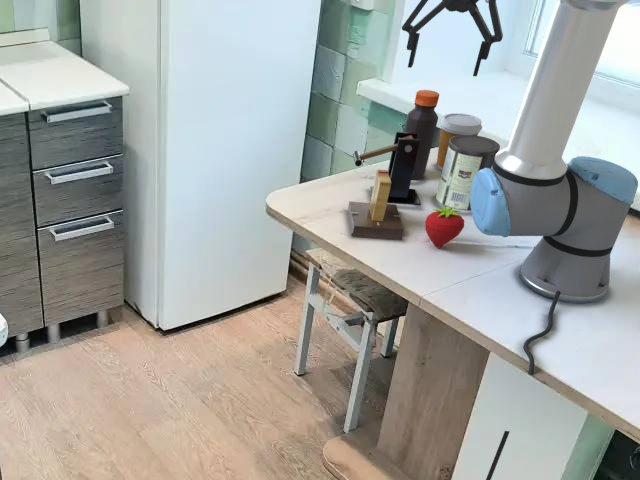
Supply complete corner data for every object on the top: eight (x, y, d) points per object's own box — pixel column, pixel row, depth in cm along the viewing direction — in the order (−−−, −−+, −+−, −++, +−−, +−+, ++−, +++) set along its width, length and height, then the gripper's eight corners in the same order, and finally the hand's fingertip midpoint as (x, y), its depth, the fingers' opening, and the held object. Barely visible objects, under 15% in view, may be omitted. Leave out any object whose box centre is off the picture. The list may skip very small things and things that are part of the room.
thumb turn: (382, 221, 166) (391, 181, 160) (372, 220, 166) (380, 180, 161) (379, 209, 170) (388, 169, 165) (369, 208, 171) (377, 169, 165)
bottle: (405, 170, 194) (424, 86, 182) (428, 179, 190) (450, 94, 178) (387, 176, 191) (406, 92, 178) (411, 186, 186) (431, 100, 174)
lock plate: (401, 240, 165) (404, 228, 163) (351, 237, 165) (353, 225, 164) (394, 215, 174) (396, 203, 172) (346, 211, 175) (349, 200, 173)
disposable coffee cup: (478, 170, 194) (492, 122, 187) (451, 178, 190) (465, 129, 183) (447, 157, 201) (459, 110, 193) (421, 165, 197) (432, 116, 189)
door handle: (356, 169, 174) (354, 159, 173) (354, 159, 179) (351, 149, 177) (416, 151, 170) (414, 141, 169) (412, 142, 175) (410, 132, 173)
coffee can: (473, 194, 183) (490, 134, 174) (488, 214, 175) (507, 152, 166) (428, 193, 183) (443, 133, 175) (441, 213, 175) (457, 151, 166)
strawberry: (460, 255, 160) (473, 209, 154) (421, 253, 160) (433, 207, 154) (454, 242, 164) (466, 196, 158) (416, 239, 165) (428, 194, 159)
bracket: (373, 205, 178) (386, 141, 169) (369, 191, 184) (382, 127, 175) (419, 209, 177) (435, 143, 168) (413, 193, 183) (429, 130, 174)
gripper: (536, -36, 159) (504, 73, 172) (408, -48, 167) (387, 58, 180) (534, -30, 153) (501, 83, 166) (402, -42, 161) (381, 66, 174)
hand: (442, 70), depth 173 cm, fingers open, 13 cm apart
